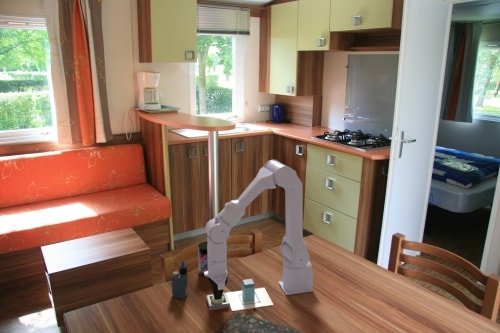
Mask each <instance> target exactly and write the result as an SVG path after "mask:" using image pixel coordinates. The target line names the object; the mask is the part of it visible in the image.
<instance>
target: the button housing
mask: <svg viewBox="0 0 500 333" xmlns="http://www.w3.org/2000/svg"><path fill="white" fill-rule="evenodd" d="M226 293H227V292H223V296H224V303H219V304H212V303H211V298H212V296H214V295H213V294H207V295H206V301H207V305H208V308H209V311H215V310H223V309H228V308H229V309H230V303H229V301H228V298H227V295H226Z"/></svg>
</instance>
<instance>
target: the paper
mask: <svg viewBox="0 0 500 333" xmlns="http://www.w3.org/2000/svg"><path fill="white" fill-rule="evenodd" d="M225 293H226V295H227V298H228V301H229V307H230V309H231V311H232V312H236V311H242V310H243V311H244V310H249V309H257V308H263V307H270V306H274V302H273V301H272V299H271V298H270V296H269V294H268V292H267V290H266V287H258V288H255V301H250V302H244V300H243V297H242V290H238V291H229V292H225Z"/></svg>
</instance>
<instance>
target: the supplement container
mask: <svg viewBox="0 0 500 333" xmlns="http://www.w3.org/2000/svg"><path fill="white" fill-rule="evenodd" d="M207 244H208V240H206V241H202V242H200V243H198V245H197V251H198V252H197V253H198V256H197V257H198V272H199V274H200V275H202V276H204V272H205V271H208V255H207ZM204 277H205V276H204Z"/></svg>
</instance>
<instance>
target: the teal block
mask: <svg viewBox="0 0 500 333" xmlns="http://www.w3.org/2000/svg"><path fill="white" fill-rule="evenodd" d="M241 286H242V288H241V291H242V297H243V300H244V302H250V301H255V289H256V288H255V282H254V280H253V278H248V279H247V278H246V279H242V283H241Z"/></svg>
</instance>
